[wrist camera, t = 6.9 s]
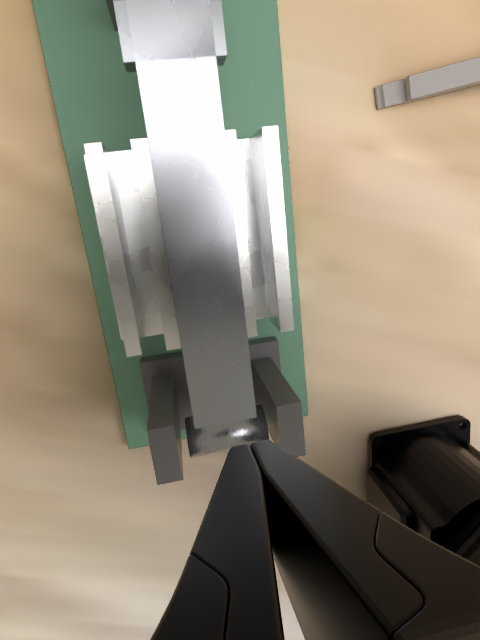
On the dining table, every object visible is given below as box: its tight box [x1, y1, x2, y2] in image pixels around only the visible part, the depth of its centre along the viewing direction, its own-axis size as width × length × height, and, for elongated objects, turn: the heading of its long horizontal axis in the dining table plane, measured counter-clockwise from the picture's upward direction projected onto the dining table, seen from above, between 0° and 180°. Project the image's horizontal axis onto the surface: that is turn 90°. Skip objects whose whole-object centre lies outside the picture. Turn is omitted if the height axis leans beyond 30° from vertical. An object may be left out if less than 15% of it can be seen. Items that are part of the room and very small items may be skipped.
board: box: [32, 0, 308, 449], centre depth 20 cm, size 10×22×1 cm, turn 6°
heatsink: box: [84, 126, 294, 357], centre depth 18 cm, size 8×8×4 cm
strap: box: [113, 0, 269, 458], centre depth 15 cm, size 3×16×2 cm, turn 6°
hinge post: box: [139, 336, 306, 485], centre depth 19 cm, size 7×4×6 cm, turn 96°
